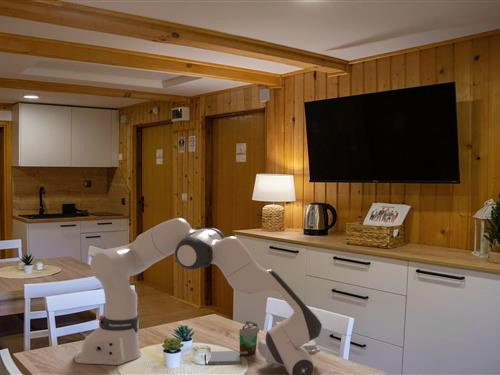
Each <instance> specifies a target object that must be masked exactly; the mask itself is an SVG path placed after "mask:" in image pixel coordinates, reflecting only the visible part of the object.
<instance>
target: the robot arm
mask: <svg viewBox="0 0 500 375" xmlns="http://www.w3.org/2000/svg"><path fill="white" fill-rule="evenodd" d="M173 254H174V258H175V260H176V262H177V264H178V265H179V266H180V267H181V268H184V269H186V270H197V269H198V270H199V269H201V268H206V267H210V266H211V264H212V265H216V266H217V267H218V268H219V269H220V271H221V272H222V275H223V276H224V277H225V280H226V281H227V282H228V284H229V285H230V286H231V288H232V289H233V290H234V291H235V292H237V293H238V294H242V295H251V294H257V293H258V294H259V293H262V292H268V291H269V292H275V293H277V294H278V295H280V297H281V298H282V299H283V300H284V301H285V303H286V304H288V306H289V307H290V308H291V309H292V310H293V313H292V314H291V315H290V316H289V317H287V318H285V319H284V320H282V321H280V322H281V323H278V324H277V325H276V324H275V325H274V326H273V327H271V328H269V329H268V330H267V331H266V333H265V339H259V340H258V342H257V343H258V344H257V345H258V352H259V354H260V355H261V357H263V358H264V359H265V362H266V363H267V364H272V365H273V364H274V365H279V366H283V367H284V369H285V371H286V372H287V373H288V374H289V375H313V374H314V372H315V371H314V370H315V365H314V364H315V363H314V361H313V358H312V356H316V355H317V354H318V353H320V352H321V349H320V348H319V347H318V346H317V342H316V340H315V339H316V338H319V337H320V334H321V332H322V327H323V325H322V324H323V323H322V322H321V320H320V318H319V317H318V315H317V314H316V313H315V312H314V311H313V310H312V309H311V308H309V307H308V306H307V305H306V303H304V302H303V301H302V300H301V298H300V297H299V296H298V294H296V292H295V291H294V290H293V289H292V288H291V287H290V286H289V285H288V284H287V283H286V282H285V281H284V279H282V277H281V276H280V275H278V274H277V272H275V270H273V269H270V268H269V269H265V268H264V267H262V266H261V265H259V263H258V262H257V261H256V260H255V258H254V257H253V254H251V252H250V251H249V250H248V248H247V246H245V244H243V242H242V241H241V240H240V239H239V238H238V237H236V236H233V235H232V236H225V234H224V233H223V232H222V231H221V230H220V229H217V228H213V227H203V226H198V227H197V228H195V229H193V228H192V227H191V225H190V223H189V222H188V221H187V220H186V219H184V218H181V217H176V218H172V219H168V220H166V221H163V222H161V223H159V224H157V225H155V226H153V227H151V228H150V229H148V230H145V231H144V232H142V233H140V234H139V235H138V236H137V237H136V238H135V240H134V241H133V242H131V243H128V244H125V245H121V246H117V247H112V248H106V249H104V250H102V251H100V252H97V253H96V254H95V255H94V256H93V257H92V258H91V262H90V270H91V273H92V275H93V276H94V278H96V279H97V280H98V281H99V282H100V284H101V286H102V289H103V293H104V302H105V305H104V308H105V309H104V310H105V313H104V314H100V316H99V318H98V319H99V320H98V327H97V328H96V329H95V330H93V331H92V332H91V333H90V334H88V335H87V336H86V337H85V339H84V341H83V343H82V346H81V348H80V349H79V350H78V351H77V352H76V353H75V356H74V362H75V363H77V364H88V365H91V364H93V365H110V366H113V365H114V366H115V365H116V366H119V365H122V364H125V363H126V362H130V361H134V360H136V359H138V358H139V357H141V354H142V352H141V350H140V349H141V348H140V344H139V336H138V331H139V315H138V294H137V292H136V291H135V290H134V289H133V288H132V287H131V284H130V281H129V280H130V279H129V277H132V276H136V275H138V274H140V273H143V272H144V271H145V270H148V269H149V267H151V266H152V265H154V264H155V263H157V262H159V261H161V260H163V259H165V258H167V257H169V256H171V255H173Z"/></svg>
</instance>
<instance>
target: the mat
mask: <svg viewBox="0 0 500 375" xmlns="http://www.w3.org/2000/svg"><path fill="white" fill-rule="evenodd" d="M210 352H211V358H210V360H209V361H208V364H207V365H228V364H229V365H232V364H233V365H234V364H235V365H236V364H242V359H241V356H240V352H239V351H238V350H220V351H219V350H218V351H210Z"/></svg>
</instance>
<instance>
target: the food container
mask: <svg viewBox="0 0 500 375" xmlns="http://www.w3.org/2000/svg"><path fill="white" fill-rule="evenodd" d="M238 333H239V334H238V336H239V356H240V357H249V356H253V355H255V354H256V352H257V345H258V344H257V343H258V342H257V340H258V333H260V326H259V324H258V323H257V322H255V321H251V320H245V325H243V326H242V328H240V329H239V332H238Z"/></svg>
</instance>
